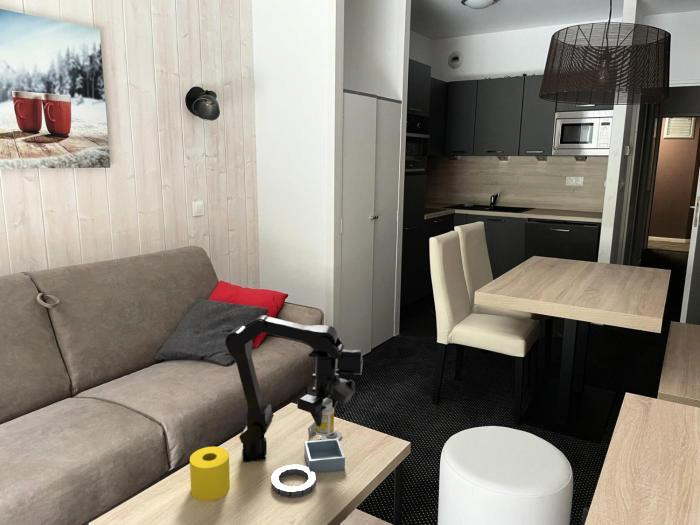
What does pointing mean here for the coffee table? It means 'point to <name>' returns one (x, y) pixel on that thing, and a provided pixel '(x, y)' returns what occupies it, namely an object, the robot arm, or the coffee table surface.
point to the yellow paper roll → (209, 473)
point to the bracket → (335, 436)
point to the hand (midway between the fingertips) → (324, 421)
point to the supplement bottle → (326, 419)
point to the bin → (324, 455)
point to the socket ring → (293, 491)
